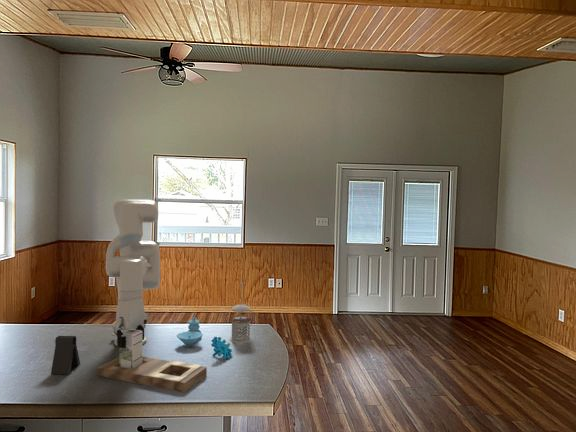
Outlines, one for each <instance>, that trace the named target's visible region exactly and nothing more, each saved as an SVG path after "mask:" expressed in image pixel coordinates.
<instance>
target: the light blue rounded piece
mask: <svg viewBox="0 0 576 432" xmlns="http://www.w3.org/2000/svg"><path fill="white" fill-rule="evenodd" d="M199 323H200V320H198V319H197V317H196V316H195V317H192V319H189V321H188V324H189V325H187V326H188V330H187V331H183V332H179V333H178V334H176V337H177V339H179V340H180V341H181V342H182V343H183V344H184V345H185V346H186V347H188V348H189V347H193V346H194V345H195V344H196V343H197V342H198V341H200V340H201V339H202V338H203V335H204V334H203V333H202V331H201V330H200V324H199Z"/></svg>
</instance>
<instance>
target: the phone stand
mask: <svg viewBox="0 0 576 432" xmlns="http://www.w3.org/2000/svg"><path fill="white" fill-rule="evenodd" d="M54 342H55V343H54V345H55V346H54V352H53V357H52V358H53V359H52V364H51V370H50V371H51V372H50V375H51V374H53V375H56V376H57V375H60V376H70V374H71V372H72V371H73V372H74V371H75V370H76V369H78V368H79V367H80V366H81V360H80V356H79V351H78V346H77V336H76V335H57V336H56V337H55V341H54ZM79 365H80V366H79ZM78 366H79V367H78ZM77 367H78V368H77ZM53 375H52V376H53Z"/></svg>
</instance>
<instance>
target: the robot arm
mask: <svg viewBox="0 0 576 432" xmlns="http://www.w3.org/2000/svg"><path fill="white" fill-rule="evenodd" d="M158 207H159V206H158V205H157V202H156V201H155V199H154V200H153V199H133V198H132V199H128V198H127V199H119V200H117V201H115V202H114V204H113V207H112V208H113V209H112V210H113V215H114V220H115V222H116V225H117V226H118V227H117V228H118V230H119V234H117V235H116V236H115V237H114V238H113V239H112V240H111V241H110V243H109V244H108V246H107V249H106V254H105V272H106V273H105V274H106V275H107V276H108V277H110V278H115V280H116V288H117V294H118V295H117V296H118V297H117V299H118V300H117V306H116V312H115V313H116V315H115V323H114V324H113V325H112V330H113V331H112V333H111V336H112V337H116V338H115V340H114V341H113V342H114V346H116V347H117V348H118V349H119V348H126V336H125V334H126V332H127V330H129V329H134V330H141V331H142V345H144V344H145V343H147V337H146V336H145V329H146V324H147V321H148V318H149V314H148V313H146V312H145V304H144V297H143V295H144V294H143V292H144V291H145V290H146V291H147V290H156V289H158V288H159V287H160V285H161V253H160V252H161V251H160V247H159V244H158V243H157V242H155V241H142V239H143V237H144V236H143V234H144V231H143V230H144V229H143V224H144V223H146V224H151V223H152V224H155V223H156V222H157V221H158V219H159V208H158ZM117 252H119V255H117V256H115V255H116V253H117ZM143 290H144V291H143ZM122 331H123V332H122Z"/></svg>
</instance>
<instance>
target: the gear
mask: <svg viewBox="0 0 576 432" xmlns="http://www.w3.org/2000/svg"><path fill="white" fill-rule="evenodd" d="M211 342H212V343H211V347H213V353H212V357H215V356H218V357H221V358H222V359H223V360H229V359H231V357H232V355H233V353H232V352H233V350H232V348H230V347H231V342H227V341H226V340H225V339H223V340H222V337H220V336H219V337H217V336H214V337H213V338H212V340H211Z"/></svg>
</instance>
